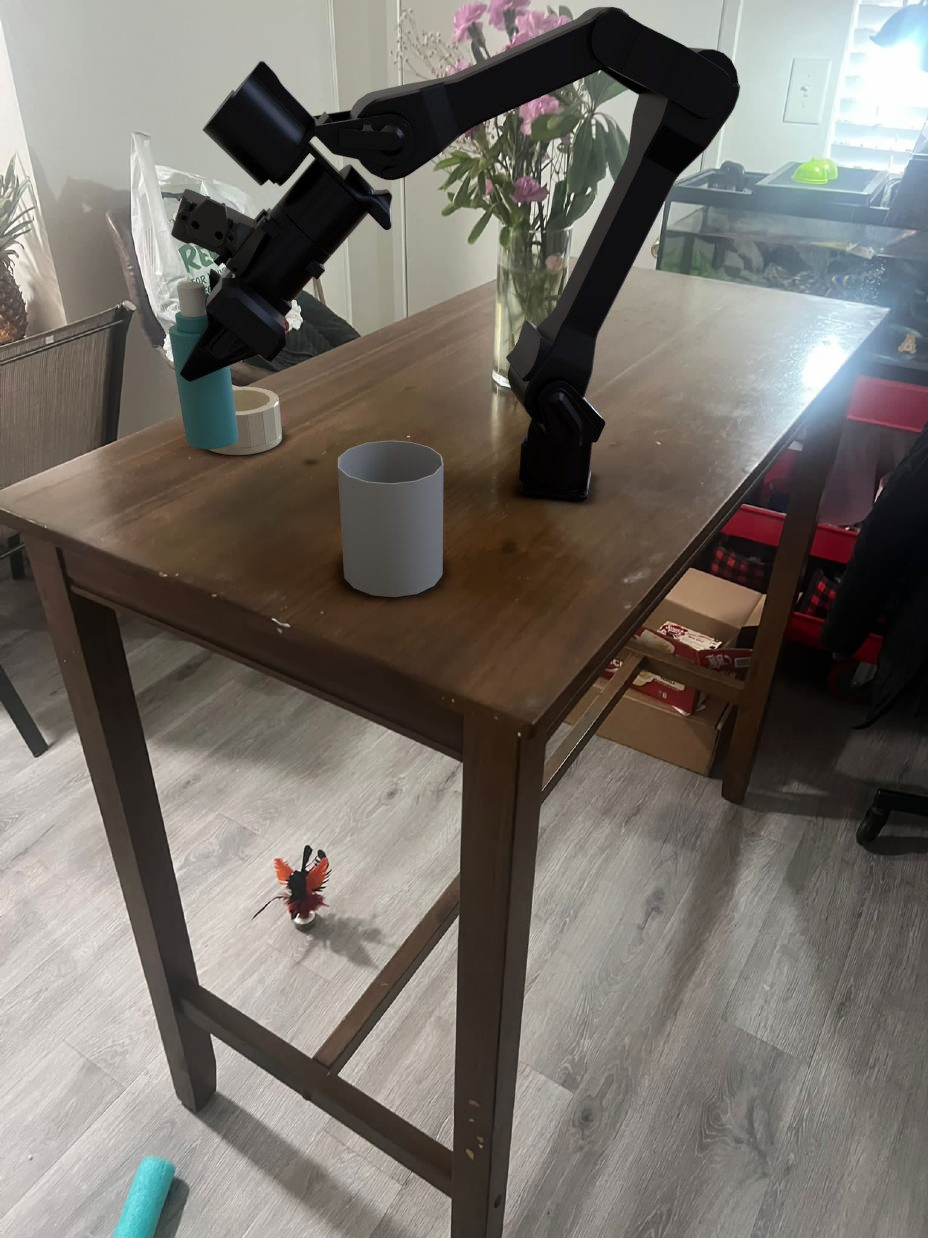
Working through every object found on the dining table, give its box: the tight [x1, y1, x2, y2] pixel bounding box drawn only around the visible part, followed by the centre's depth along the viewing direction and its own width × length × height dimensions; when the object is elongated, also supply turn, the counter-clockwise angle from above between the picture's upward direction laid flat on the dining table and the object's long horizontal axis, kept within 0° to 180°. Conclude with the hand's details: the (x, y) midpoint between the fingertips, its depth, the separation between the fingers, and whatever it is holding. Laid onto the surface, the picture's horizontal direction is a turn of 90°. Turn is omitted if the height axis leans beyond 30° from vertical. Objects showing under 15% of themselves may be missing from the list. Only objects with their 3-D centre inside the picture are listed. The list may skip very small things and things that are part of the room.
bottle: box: [168, 281, 239, 450], centre depth 78 cm, size 5×5×14 cm
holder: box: [207, 386, 283, 456], centre depth 98 cm, size 9×9×4 cm
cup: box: [337, 440, 445, 598], centre depth 74 cm, size 8×8×10 cm
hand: (186, 368), depth 78 cm, fingers closed on bottle, 4 cm apart
